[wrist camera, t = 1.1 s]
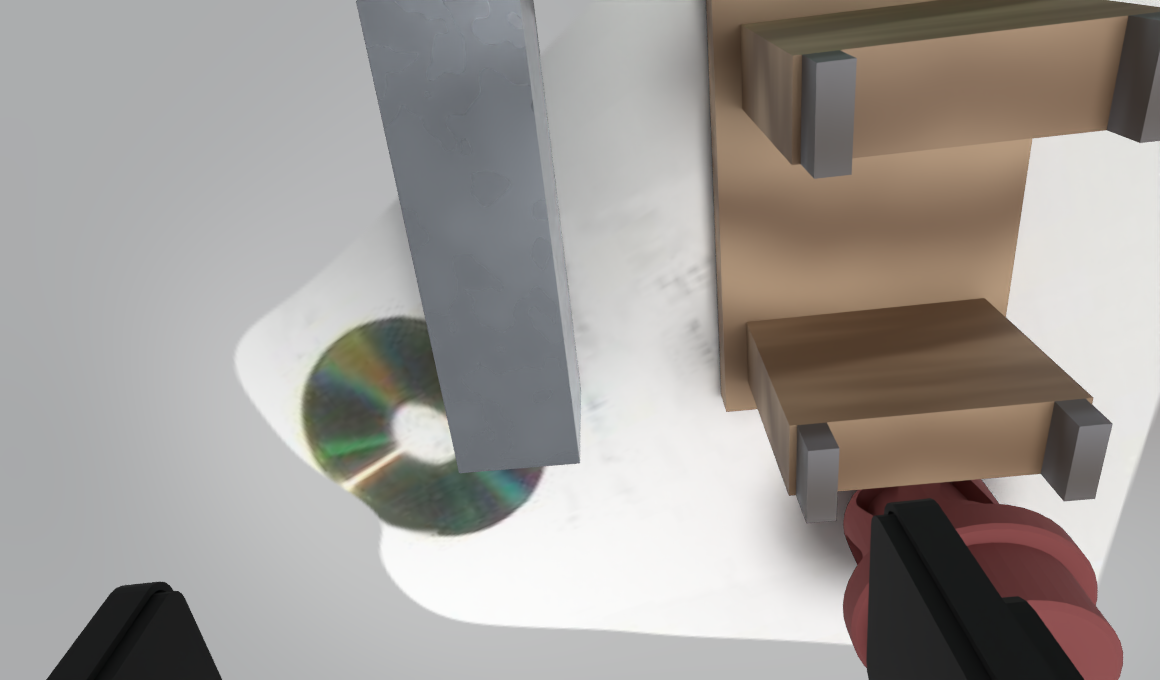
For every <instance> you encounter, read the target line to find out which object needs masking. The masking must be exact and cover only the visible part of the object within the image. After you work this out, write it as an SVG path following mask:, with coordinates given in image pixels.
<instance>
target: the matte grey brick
mask: <svg viewBox="0 0 1160 680" xmlns="http://www.w3.org/2000/svg"><path fill="white" fill-rule="evenodd" d="M356 3H357V7H358V12H359V17H360V21H361V26H362V30H363V35H364V40H365V44H366V49H367V53H368V58H369V62H370V67H371V71H372V76H373V81H374V85H375V90H376V94H377V99H378V104H379V108H380V113H381V117H382V121H383V127H384V131H385V136H386V140H387V145H388V149H389V154H390V158H391V163H392V168H393V172H394V177H395V181H396V186H397V191H398V195H399V200H400V204H401V209H402V213H403V218H404V223H405V227H406V232H407V236H408V241H409V245H410V250H411V255H412V259H413V264H414V268H415V273H416V278H417V282H418V287H419V291H420V296H421V300H422V305H423V310H424V314H425V319H426V323H427V328H428V332H429V337H430V342H431V346H432V351H433V355H434V360H435V364H436V369H437V374H438V378H439V383H440V387H441V392H442V397H443V401H444V406H445V410H446V415H447V419H448V424H449V429H450V433H451V438H452V442H453V447H454V451H455V456H456V461H457V465H458V470H459V473H467V472H479V471H491V470H503V469H516V468H528V467H540V466H552V465H565V464H577V463H580V420H581V387H580V379H579V371H578V363H577V354H576V346H575V338H574V330H573V322H572V314H571V306H570V297H569V289H568V281H567V273H566V265H565V257H564V249H563V241H562V232H561V224H560V216H559V208H558V200H557V192H556V184H555V175H554V167H553V159H552V151H551V143H550V135H549V127H548V119H547V110H546V102H545V94H544V86H543V78H542V70H541V62H540V50H539V42H538V34H537V26H536V17H535V9H534V2H533V0H357V1H356Z"/></svg>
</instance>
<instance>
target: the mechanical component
mask: <svg viewBox="0 0 1160 680" xmlns="http://www.w3.org/2000/svg"><path fill="white" fill-rule="evenodd" d="M927 498H932V499H934V500H935V501H936V502H937V503H938V504H939V506H940V507H941V509H942V510H943V511H944V513H945V514H946V516H947V517H948V519H949V520H950V522H951V523H952V525H953V526H954V528H955V529H956V531H957V532H958V534H959V535H960V537H961V538H962V540H963V541H964V543H965V544H966V546H967V547H968V548H969V550H970V551H971V553H972V554H973V556H974V557H975V559H976V560H977V562H978V563H979V565H980V566H981V568H982V569H983V571H984V572H985V574H986V575H987V577H988V578H989V580H990V581H991V583H992V584H993V585H994V587H995V588H996V590H997V591H998V593H999V594H1000V596H1001V597H1002V598H1003V597H1014V596H1019V597H1021V598H1022V599H1024V600H1026V601H1027V602H1028V603H1029V604H1030V605H1031V607H1032V608H1033V609H1034V610H1035V611H1036V612H1037V614H1038V615H1039V617H1040V618H1041V619H1042V621H1043V622H1044V624H1045V625H1046V626H1047V628H1048V629H1049V631H1050V632H1051V633H1052V635H1053V636H1054V638H1055V639H1056V640H1057V642H1058V643H1059V645H1060V646H1061V647H1062V649H1063V650H1064V652H1065V653H1066V654H1067V656H1068V657H1069V659H1070V660H1071V661H1072V663H1073V664H1074V666H1075V667H1076V668H1077V670H1078V671H1079V673H1080V674H1081V675H1082V677H1083V678H1084V680H1118V679H1119V677H1120V674H1121V669H1122V666H1123V650H1122V646H1121V642H1120V640H1119V638H1118V636H1117V634H1116V633H1115V631H1114V629H1113V628H1112V627H1111V626H1110V624H1109V623H1108V622H1107V620H1106V619H1105V618H1104V616H1103V615H1102V614H1101V612H1100V611H1099V610H1098V609H1097V607H1096V602H1097V581H1096V576H1095V573H1094V570H1093V568H1092V566H1091V564H1090V562H1089V561H1088V559H1087V558H1086V557H1085V555H1084V554H1083V553H1082V551H1081V550H1080V549H1079V548H1078V546H1077V545H1076V544H1075V543H1074V541H1073V540H1072V539H1071V537H1070V536H1069V535H1068V534H1067V533H1066V532H1065V531H1064V530H1063V529H1062V528H1061V527H1060V526H1059V525H1057V524H1056V523H1055V522H1053V521H1052V520H1051V519H1049V518H1047V517H1045V516H1043V515H1041V514H1039V513H1037V512H1034V511H1031V510H1028V509H1025V508H1021V507H1016V506H1011V505H1004V504H999V503H998V502H997V500H996V499H995V497H994V496H993V495H992V493H991V492H990V490H989V489H988V488H987V486H986V485H985V484H984V482H983V481H982V480H981V479H975V480H963V481H952V482H940V483H929V484H917V485H906V486H894V487H883V488H871V489H860V490H857V491H856V492H855V494H854V495H853V496H852V498H851V500H850V502H849V503H848V505H847V508H846V511H845V514H844V522H843V526H844V534H845V537H846V540H847V542H848V545H849V547H850V549H851V552H852V554H853V556H854V558H855V561H856V563H857V565H858V566H857V567H856V568H855V570H854V572H853V574H852V576H851V577H850V579H849V581H848V584H847V587H846V591H845V594H844V601H843V614H844V620H845V624H846V627H847V630H848V633H849V635H850V638H851V641H852V643H853V646H854V648H855V650H856V653H857V655H858V657H859V658H860V660H861V661H862V663H863V664H864V666H865V667H866V668H867V663H866V658H867V628H868V598H869V568H870V538H871V520H872V517H873V516H876V515H884V508H885V506H886V504H887V503H890V502H899V501H909V500H918V499H927Z"/></svg>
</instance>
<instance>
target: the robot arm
mask: <svg viewBox="0 0 1160 680" xmlns="http://www.w3.org/2000/svg"><path fill="white" fill-rule="evenodd" d="M866 663H867V673H868V678H869V680H1084V678H1083V677H1082V675H1081V674H1080V673H1079V671H1078V670H1077V668H1076V667H1075V666H1074V664H1073V663H1072V661H1071V660H1070V659H1069V657H1068V656H1067V654H1066V653H1065V652H1064V650H1063V649H1062V647H1061V646H1060V645H1059V643H1058V642H1057V640H1056V639H1055V638H1054V636H1053V635H1052V633H1051V632H1050V631H1049V629H1048V628H1047V626H1046V625H1045V624H1044V622H1043V621H1042V619H1041V618H1040V617H1039V615H1038V614H1037V612H1036V611H1035V610H1034V609H1033V608H1032V607H1031V605H1030V604H1029V603H1028V602H1027V601H1026V600H1024V599H1022V598H1021V597H1019V596H1014V597H1003V598H1002V597H1001V596H1000V594H999V593H998V591H997V590H996V588H995V587H994V585H993V584H992V583H991V581H990V580H989V578H988V577H987V575H986V574H985V572H984V571H983V569H982V568H981V566H980V565H979V563H978V562H977V560H976V559H975V557H974V556H973V554H972V553H971V551H970V550H969V548H968V547H967V546H966V544H965V543H964V541H963V540H962V538H961V537H960V535H959V534H958V532H957V531H956V529H955V528H954V526H953V525H952V523H951V522H950V520H949V519H948V517H947V516H946V514H945V513H944V511H943V510H942V509H941V507H940V506H939V504H938V503H937V502H936V501H935V500H934V499H932V498H927V499H918V500H909V501H899V502H890V503H887V504H886V506H885V508H884V515H876V516H873V517H872V520H871V538H870V568H869V598H868V628H867V658H866ZM46 680H222V679H221V676H220V674H219V672H218V670H217V667H216V665H215V663H214V661H213V659H212V656H211V654H210V653H209V650H208V648H207V646H206V643H205V641H204V639H203V637H202V635H201V632H200V630H199V628H198V626H197V624H196V621H195V619H194V617H193V615H192V613H191V611H190V608H189V606H188V604H187V602H186V600H185V598H184V596H183V595H182V593H180V592H179V591H173V590H172V588H171V587H170V585H168V584H167V583H165V582H152V583H143V584H133V585H125V586H120V587H118V588H116V589H115V590H114V591H113V592H112V593H111V594H110V595H109V596H108V597H107V599H106V600H105V602H104V603H103V604H102V606H101V607H100V608H99V610H98V611H97V612H96V614H95V615H94V616H93V618H92V619H91V620H90V622H89V623H88V624H87V626H86V627H85V628H84V630H83V631H82V632H81V634H80V635H79V636H78V638H77V639H76V640H75V642H74V643H73V645H72V646H71V647H70V649H69V650H68V651H67V653H66V654H65V655H64V657H63V658H62V659H61V661H60V662H59V664H58V665H57V666H56V667H55V669H54V670H53V671H52V673H51V674H50V676H49V677H48V678H47V679H46Z"/></svg>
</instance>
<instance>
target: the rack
mask: <svg viewBox="0 0 1160 680" xmlns="http://www.w3.org/2000/svg"><path fill="white" fill-rule="evenodd" d="M706 11H707V37H708V63H709V89H710V115H711V141H712V167H713V193H714V218H715V244H716V270H717V296H718V322H719V348H720V374H721V395H722V399H723V402H724V406H725V409H726V412H730V411H741V410H752V409H758V411H759V414H760V417H761V420H762V422H763V425H764V428H765V431H766V433H767V436H768V439H769V442H770V445H771V447H772V450H773V453H774V456H775V458H776V461H777V464H778V467H779V469H780V472H781V475H782V478H783V481H784V483H785V486H786V489H787V492H788V494H789V496H791V495H796V496H797V499H798V502H799V504H800V507H801V510H802V512H803V515H804V518H805V520H806V523H815V522H826V521H836V517H837V494H838V491H849V490H860V489H871V488H883V487H894V486H906V485H917V484H929V483H940V482H952V481H963V480H975V479H986V478H998V477H1009V476H1021V475H1032V474H1041V475H1042V476H1043V477H1044V478H1045V479H1046V481H1047V482H1048V483H1049V484H1050V485H1051V486H1052V488H1053V489H1054V490H1055V491H1056V492H1057V494H1058V495H1059V496H1060V497H1061V498H1062V500H1063V501H1073V500H1085V499H1095V496H1096V492H1097V487H1098V483H1099V479H1100V475H1101V470H1102V466H1103V462H1104V458H1105V453H1106V449H1107V445H1108V441H1109V436H1110V432H1111V428H1112V423H1111V422H1110V421H1109V420H1108V419H1107V418H1106V417H1105V416H1104V415H1103V414H1102V413H1101V412H1099V411H1098V410H1097V409H1096V408H1095V407H1094V406H1093V405H1092V402H1093V397H1092V396H1091V395H1090V394H1089V393H1088V392H1086V391H1085V390H1084V389H1083V388H1082V387H1081V386H1080V385H1079V384H1078V383H1077V382H1076V381H1075V380H1073V379H1072V378H1071V377H1070V376H1069V375H1068V374H1067V373H1066V372H1065V371H1064V370H1063V369H1061V368H1060V367H1059V366H1058V365H1057V364H1056V363H1055V362H1054V361H1053V360H1052V359H1051V358H1049V357H1048V356H1047V355H1046V354H1045V353H1044V352H1043V351H1042V350H1041V349H1040V348H1039V347H1037V346H1036V345H1035V344H1034V343H1033V342H1032V341H1031V340H1030V339H1029V338H1028V337H1027V336H1026V335H1024V334H1023V333H1022V332H1021V331H1020V330H1019V329H1018V328H1017V327H1016V326H1015V325H1014V324H1012V323H1011V322H1010V321H1009V320H1008V319H1007V318H1006V312H1007V305H1008V298H1009V291H1010V285H1011V278H1012V271H1013V265H1014V258H1015V251H1016V244H1017V238H1018V231H1019V224H1020V218H1021V211H1022V204H1023V197H1024V191H1025V184H1026V177H1027V171H1028V164H1029V157H1030V150H1031V144H1032V138H1040V137H1049V136H1058V135H1067V134H1076V133H1085V132H1094V131H1103V130H1108V131H1110V132H1113V133H1116V134H1118V135H1121V136H1123V137H1126V138H1129V139H1131V140H1134V141H1137V142H1139V143H1143V142H1152V141H1160V7H1154V6H1147V5H1139V4H1132V3H1124V2H1116V1H1109V0H706Z"/></svg>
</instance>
